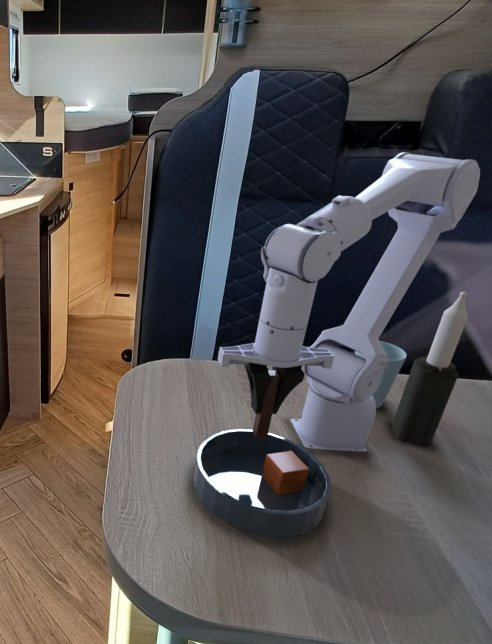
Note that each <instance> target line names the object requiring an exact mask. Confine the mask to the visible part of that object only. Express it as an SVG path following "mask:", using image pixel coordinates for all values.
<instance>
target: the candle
mask: <svg viewBox="0 0 492 644" xmlns="http://www.w3.org/2000/svg"><path fill="white" fill-rule="evenodd" d="M467 296H468V293H467V292H466V291H461V292H460V293H459V296H458V298H457V299H456V300H455V302H454V303H453V304H452V305H450V306H449V307H448V308H447V309H445V310H444V311H443V314H442V316H441V319H440V322H439V325H438V327H437V330H436V332H435V335H434V338H433V342H432V344H431V346H430V349H429V351H428V354H427V355H423V356H421V357H416V358H415V359H414V361H413V363H412V367H411V369H410V373H409V375H408V378H407V381H406V383H405V387H404V389H403V391H402V394H401V398H400V400H399V404H398V406H397V409H396V412H395V414H394V418H393V420H392V423H391V429H392V431H393V434H394V436H395V438H396V439H397V440H399V441H402V442H405V443H406V442H408V443H413V444H418V445H422V446H426V447H427V446H431V445H432V442H433V441H434V438H435V435H436V432H437V430H438V427H439V425H440V423H441V420H442V417H443V416H444V415H443V414H444V413H445V409H446V408H447V405H448V402H449V400H450V398H451V395H452V392H453V390H454V388H455V385H456V383H457V380H458V378H459V374H458V372H457V370H456V365H455V364H454V363H453V362H452V359H453V357H454V354H455V351H456V349H457V346H458V345H459V341H460V339H461V336H462V335H463V331H464V328H465V325H466V323H467V321H468V318H469V315H468V312H467V310H466V297H467Z"/></svg>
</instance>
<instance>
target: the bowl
mask: <svg viewBox="0 0 492 644" xmlns="http://www.w3.org/2000/svg"><path fill="white" fill-rule="evenodd" d="M286 451H292V452H293V453H294V454H295V455H296V456H297V457H298V458H299V459H300V460H301V461H302V462H303V463H304V464H305V465H306V466H307V467H308V468H309V471H308V474H307V478H306V482H305V485H304V489H303V491H301V492H295V493H289V494H283V495H277V494H276V493H275V492H274V491H273V489H272V488H271V487H270V486H269V485H268V483H267V482H266V481H265V480H264V479H263V477H262V473H263V468H264V464H265V460H266V455H267V454H272V453H279V452H286ZM192 480H193V481H192V482H193V487H194V491H195V493H196V495H197V497H198V498H199V500H200V502H201V503H202V504H203V505H204V506H205V508H206V509H207V510H208V511H210V512H211V513H212V514H213V515H214V516H216V517H217V518H218V519H219V520H221V521H222V522H224V523H226V524H227V525H229V526H232V527H233V528H235V529H237V530H240V531H242V532H245V533H249V534H251V535H255V536H260V537H265V538H272V539H273V538H274V539H286V538H294V537H298V536H302V535H304V534H307V533H309V532H310V531H312V530H314V529H315V528H316V527H317V526H318V524H320V523H321V521H322V520H323V516H324V514H325V510H326V506H327V504H328V500H329V497H330V494H331V491H332V483H331V478H330V475H329V473H328V471H327V470H326V468H325V465H324V464H323V463H322V462H321V461H320V460H319V459H318V458H317V457H316V456H315V455H314V454H313V453H312V452H310V451H309V450H308V449H307V448H305V447H303V446H302V445H300V444H298V443H297V442H294V441H292V440H290V439H288V438H286V437H283V436H280V435H277V434H275V433H271V432H268V436H267V438H256V437H255V435H254V433H253V429H247V428H236V429H234V428H233V429H227V430H226V429H225V430H222V431H219V432H216V433H213V434H212V435H210V436H208V437H207V438H205V439H204V440H203V441H202V442H201V444H200V445H199V447H198V448H197V452H196V458H195V464H194V470H193V477H192Z"/></svg>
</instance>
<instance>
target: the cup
mask: <svg viewBox="0 0 492 644" xmlns="http://www.w3.org/2000/svg"><path fill="white" fill-rule="evenodd" d="M379 342H380V343H381V345H382V347H383V349H384V351H385V353H386V355H387V357H388V360H389V362H388V364H387V366H386V368H385V370H384V373H383V376H382V380H381V383H380V385H379V387H378V389H377V390H376V391H375V393H374V394H373V397H374V399H375V403H376V409H379V408H381V407H382V406H383V405H384V403H385V401H386V398H387V396H388V395H389V392H390V391H391V389H392V386H393V384H394V383H395V380H396V379H397V377H398V374H399V373H400V371H401V369H402V367H403V365H404V363H405V361H406V359H407V357H408V356H407V352H406V351H405V350H404V349H402V348H400V347H399V346H397V345H396V344H392V343H389V342H386V341H382V340H379ZM354 354H356V355H358V356H360V357H362V358H365V356H364V355H363V354H362V353H360V352H357V351H355V350H354ZM365 359H366V358H365Z"/></svg>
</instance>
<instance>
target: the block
mask: <svg viewBox="0 0 492 644" xmlns="http://www.w3.org/2000/svg"><path fill="white" fill-rule="evenodd" d="M308 471H309V468H308V467H307V466H306V465H305V464H304V463H303V462H302V461H301V460H300V459H299V458H298V457H297V456H296V455H295V454H294V453H293V452H292V451H286V452H279V453H272V454H267V455H266V460H265V464H264V468H263V473H262V477H263V479H264V480H265V481H266V482H267V483H268V485H269V486H270V487H271V488H272V489H273V491H274V492H275V493H276V494H277V495H283V494H289V493H295V492H301V491H303V489H304V485H305V482H306V478H307V474H308Z"/></svg>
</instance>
